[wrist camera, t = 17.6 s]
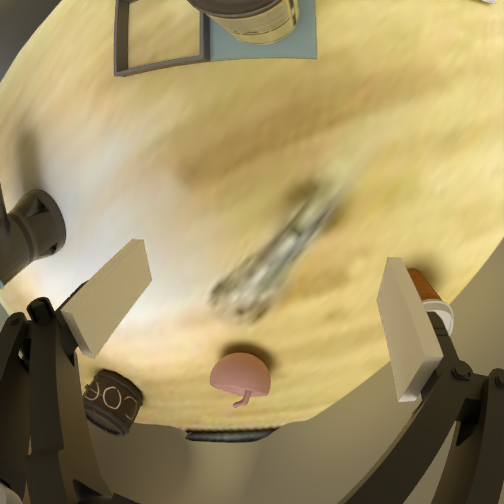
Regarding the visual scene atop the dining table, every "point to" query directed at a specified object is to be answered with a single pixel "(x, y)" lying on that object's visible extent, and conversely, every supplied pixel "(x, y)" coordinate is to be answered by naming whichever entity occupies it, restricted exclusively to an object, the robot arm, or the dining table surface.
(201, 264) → the dining table surface
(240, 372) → the pink apple
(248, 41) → the coffee can
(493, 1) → the salad plate
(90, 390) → the coffee canister
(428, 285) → the disposable coffee cup
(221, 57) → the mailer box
